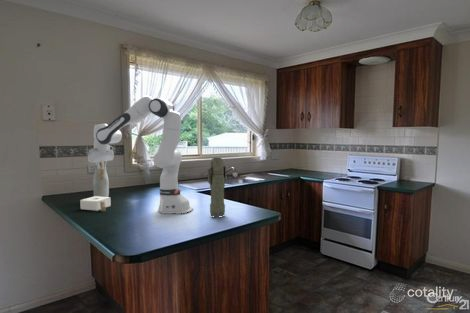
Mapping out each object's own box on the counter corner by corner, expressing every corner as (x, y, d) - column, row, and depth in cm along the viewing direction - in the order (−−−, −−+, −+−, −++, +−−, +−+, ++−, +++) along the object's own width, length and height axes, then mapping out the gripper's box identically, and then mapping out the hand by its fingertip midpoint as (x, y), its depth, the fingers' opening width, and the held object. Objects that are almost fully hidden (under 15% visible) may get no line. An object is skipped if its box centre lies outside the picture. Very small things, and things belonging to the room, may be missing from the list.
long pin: (104, 179, 197) (104, 158, 196) (101, 179, 194) (101, 159, 193) (101, 179, 198) (101, 158, 197) (98, 179, 195) (97, 158, 194)
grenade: (205, 216, 174) (204, 158, 172) (220, 212, 182) (220, 157, 180) (214, 219, 168) (213, 159, 165) (229, 215, 176) (229, 157, 173)
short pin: (106, 210, 188) (106, 201, 188) (103, 211, 186) (103, 202, 185) (102, 210, 189) (102, 201, 189) (99, 211, 186) (99, 202, 186)
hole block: (110, 205, 201) (110, 197, 200) (96, 210, 188) (96, 201, 188) (95, 204, 204) (94, 196, 204) (80, 209, 192) (80, 200, 191)
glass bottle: (91, 201, 213) (89, 163, 211) (100, 198, 223) (99, 162, 221) (102, 202, 210) (101, 164, 208) (111, 199, 220) (110, 162, 218)
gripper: (93, 148, 184) (93, 170, 185) (115, 147, 203) (115, 167, 204) (85, 148, 185) (85, 169, 186) (107, 147, 205) (108, 166, 206)
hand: (101, 168), depth 195 cm, fingers closed on long pin, 3 cm apart
